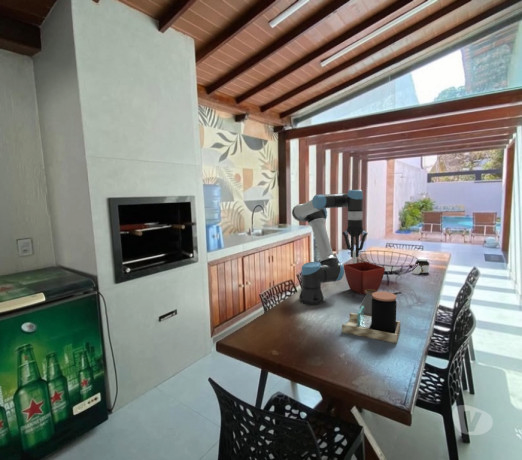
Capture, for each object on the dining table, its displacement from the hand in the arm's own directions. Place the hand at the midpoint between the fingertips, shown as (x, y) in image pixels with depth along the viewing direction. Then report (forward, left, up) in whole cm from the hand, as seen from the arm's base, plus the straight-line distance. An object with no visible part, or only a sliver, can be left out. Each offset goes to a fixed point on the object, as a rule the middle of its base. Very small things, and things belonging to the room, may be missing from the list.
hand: (354, 262), depth 161 cm
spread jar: (+28, +98, -29) cm, 106 cm away
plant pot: (-3, +39, -29) cm, 49 cm away
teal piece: (+9, -17, -28) cm, 34 cm away
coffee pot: (+13, +2, -29) cm, 31 cm away
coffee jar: (+17, -18, -28) cm, 37 cm away
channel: (+12, -18, -28) cm, 35 cm away
